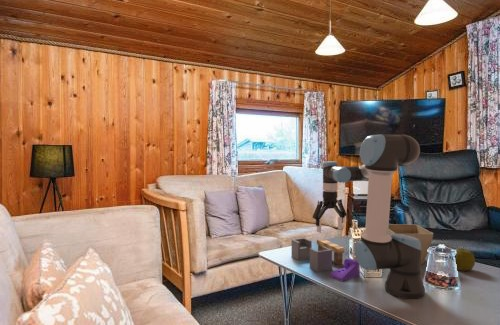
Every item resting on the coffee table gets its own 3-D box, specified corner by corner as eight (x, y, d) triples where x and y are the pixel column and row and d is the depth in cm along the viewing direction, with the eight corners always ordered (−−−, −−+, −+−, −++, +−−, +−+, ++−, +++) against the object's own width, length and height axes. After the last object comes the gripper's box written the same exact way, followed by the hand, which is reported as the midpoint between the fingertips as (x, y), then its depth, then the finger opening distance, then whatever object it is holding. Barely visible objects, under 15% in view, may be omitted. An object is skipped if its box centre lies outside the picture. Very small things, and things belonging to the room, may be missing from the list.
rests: (342, 263, 174) (342, 252, 174) (337, 264, 173) (337, 253, 173) (322, 254, 190) (322, 243, 189) (318, 254, 188) (318, 244, 188)
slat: (343, 252, 174) (344, 247, 173) (337, 253, 172) (337, 248, 172) (322, 243, 190) (322, 238, 190) (316, 244, 188) (316, 239, 188)
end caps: (331, 269, 167) (332, 249, 167) (317, 271, 164) (317, 252, 163) (304, 254, 189) (304, 237, 189) (291, 256, 186) (291, 239, 185)
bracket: (346, 271, 165) (347, 257, 165) (358, 275, 159) (358, 261, 159) (330, 277, 158) (330, 262, 158) (341, 281, 153) (342, 266, 152)
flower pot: (433, 266, 169) (434, 233, 168) (394, 266, 170) (395, 233, 169) (415, 254, 188) (416, 224, 187) (380, 254, 189) (381, 224, 188)
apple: (470, 275, 158) (470, 251, 158) (447, 269, 166) (448, 247, 165) (477, 270, 165) (478, 247, 164) (455, 264, 172) (456, 243, 172)
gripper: (344, 188, 188) (344, 226, 189) (305, 191, 178) (305, 231, 179) (353, 190, 181) (353, 229, 182) (314, 193, 171) (313, 235, 172)
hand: (329, 230), depth 181 cm, fingers open, 13 cm apart
